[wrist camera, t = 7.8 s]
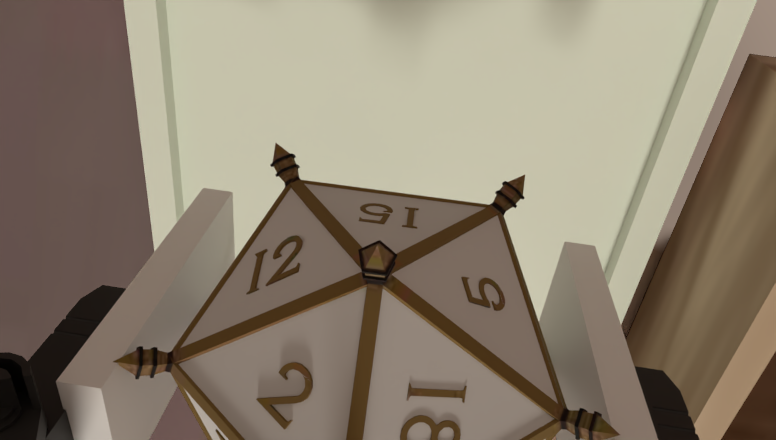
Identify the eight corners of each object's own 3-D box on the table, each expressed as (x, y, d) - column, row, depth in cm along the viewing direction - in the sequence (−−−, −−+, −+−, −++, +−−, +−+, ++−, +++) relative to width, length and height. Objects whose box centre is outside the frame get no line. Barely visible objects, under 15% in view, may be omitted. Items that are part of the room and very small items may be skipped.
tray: (174, 302, 26) (163, 320, 25) (124, -160, 17) (103, -161, 16) (589, 364, 25) (595, 386, 24) (767, -78, 16) (787, -73, 15)
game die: (514, 365, 19) (556, 780, 11) (250, 328, 19) (88, 701, 11) (591, 97, 14) (779, 465, 6) (239, 54, 15) (-67, 341, 6)
